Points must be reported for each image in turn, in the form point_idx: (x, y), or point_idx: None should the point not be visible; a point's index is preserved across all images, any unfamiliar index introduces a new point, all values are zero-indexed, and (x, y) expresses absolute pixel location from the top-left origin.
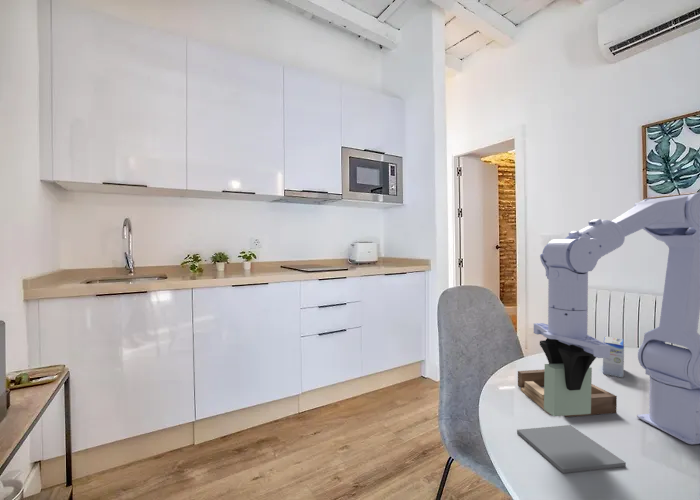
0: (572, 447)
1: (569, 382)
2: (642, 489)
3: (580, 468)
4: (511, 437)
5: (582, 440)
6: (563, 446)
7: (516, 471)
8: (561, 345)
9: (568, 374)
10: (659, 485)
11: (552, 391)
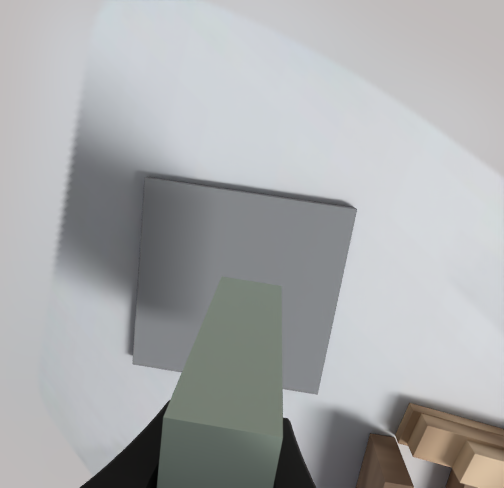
0: None
1: (149, 424)
2: (62, 311)
3: (141, 232)
4: (340, 168)
5: None
6: (231, 274)
7: (187, 42)
8: None
9: (124, 455)
10: (67, 360)
11: (217, 326)
